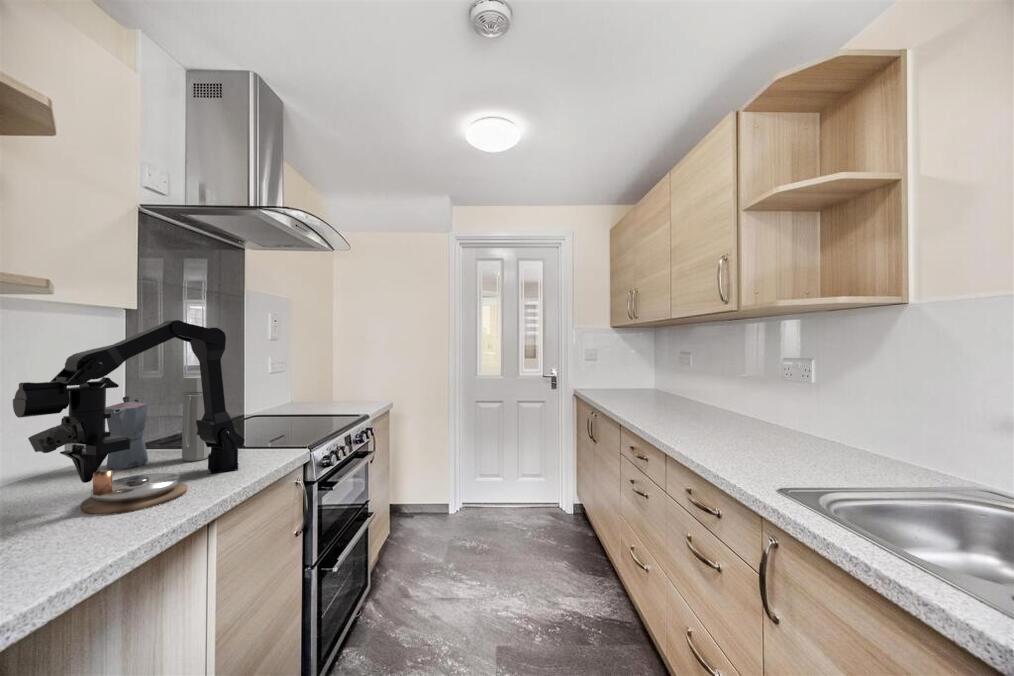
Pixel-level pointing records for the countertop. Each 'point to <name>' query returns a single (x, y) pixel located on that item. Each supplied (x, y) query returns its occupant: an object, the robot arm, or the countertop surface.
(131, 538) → the countertop surface
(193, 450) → the water bottle
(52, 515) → the countertop surface
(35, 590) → the countertop surface
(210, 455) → the robot arm
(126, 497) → the handwheel
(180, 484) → the wheel base
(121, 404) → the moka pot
